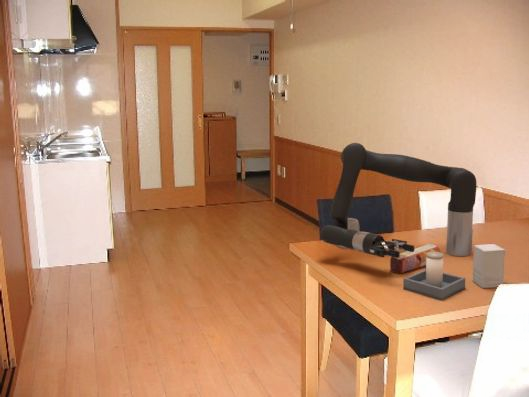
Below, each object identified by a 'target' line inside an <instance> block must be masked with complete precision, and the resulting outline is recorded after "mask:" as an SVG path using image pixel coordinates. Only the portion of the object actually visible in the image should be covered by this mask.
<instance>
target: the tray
mask: <svg viewBox="0 0 529 397" xmlns="http://www.w3.org/2000/svg"><path fill="white" fill-rule="evenodd" d="M402 281H403V285H402V288H403V290H405V291H410V292H411V293H417V294H420V295H423V296H427V297H429V298H432V299H436V300H438V301H439V300H440V301H443V300H445V299H447V298H449V297H451V296H453V295H455V294H457V293H459V292H462V291H463V290H465V289H466V277H462V276H458V275H454V274H450V273H446V272H443V281H442V288H439V287H436V286H432V285H429V284H426V268H425V269H423V270H421V271H418V272H416V273H414V274H411V275H409V276H407V277H404V278H403V280H402Z"/></svg>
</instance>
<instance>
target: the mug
mask: <svg viewBox="0 0 529 397" xmlns="http://www.w3.org/2000/svg"><path fill="white" fill-rule="evenodd" d="M348 229H349V230H356V231H360V222H359V220H358V219H356V218H353V217H348ZM337 246H338V248H340V249H346V250H347V249H348V250H350V248H347V247H344V246H340V245H337Z"/></svg>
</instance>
